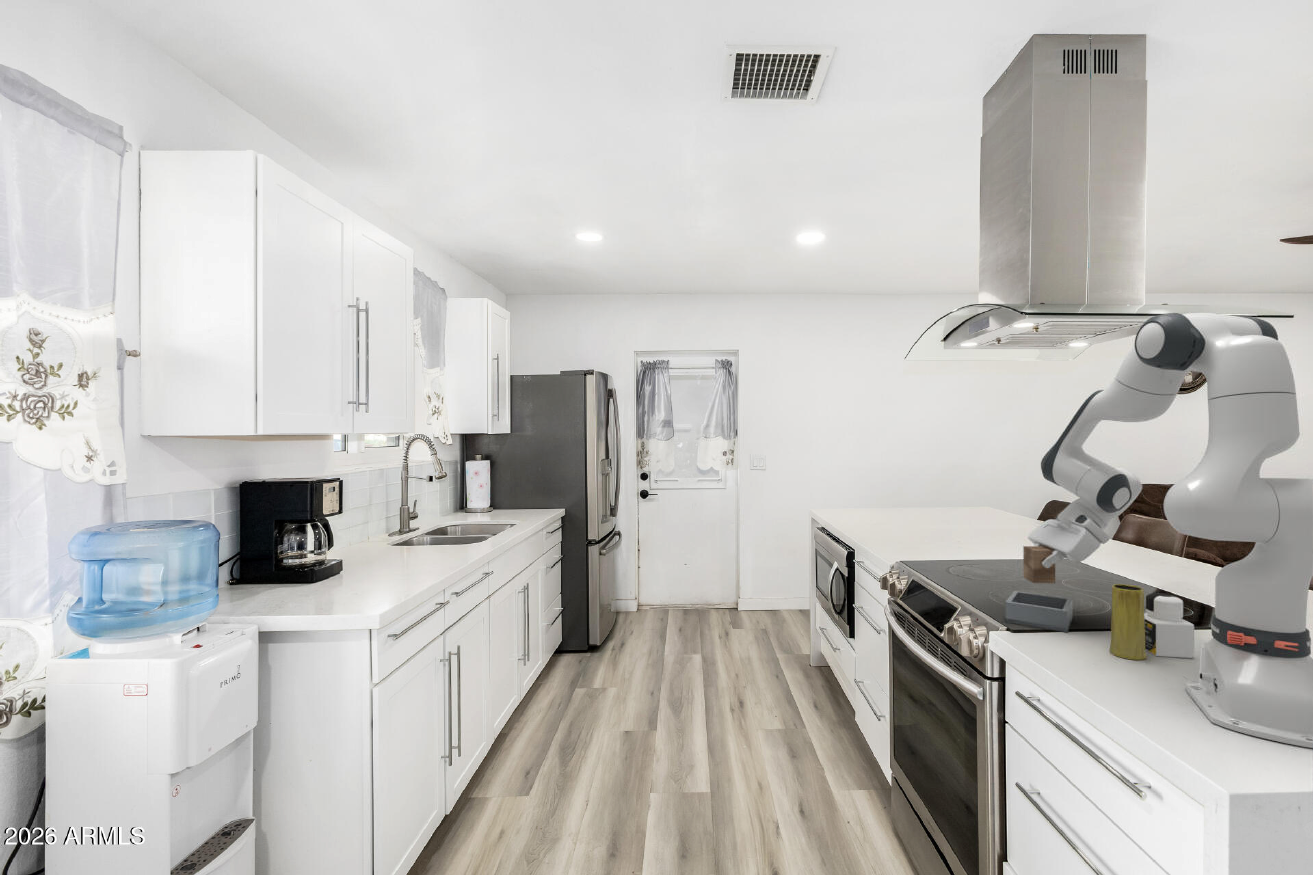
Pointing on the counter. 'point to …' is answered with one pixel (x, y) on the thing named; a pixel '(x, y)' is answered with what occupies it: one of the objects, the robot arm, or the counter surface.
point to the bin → (1039, 611)
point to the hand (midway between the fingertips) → (1036, 562)
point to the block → (1037, 564)
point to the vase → (1128, 622)
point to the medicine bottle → (1167, 627)
